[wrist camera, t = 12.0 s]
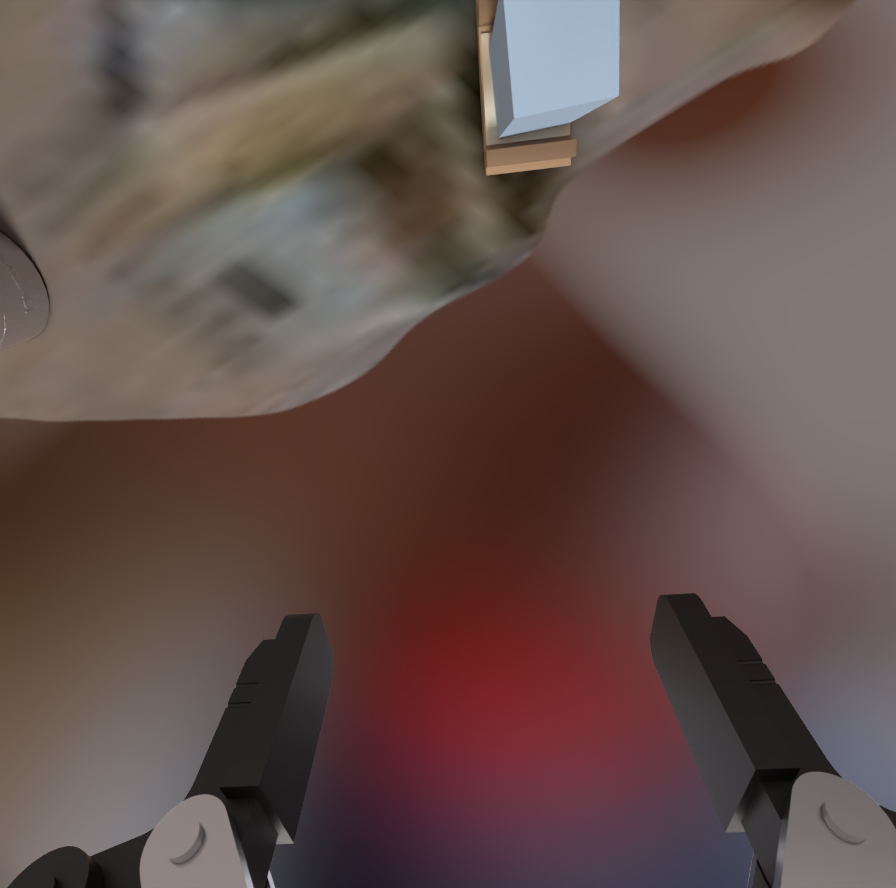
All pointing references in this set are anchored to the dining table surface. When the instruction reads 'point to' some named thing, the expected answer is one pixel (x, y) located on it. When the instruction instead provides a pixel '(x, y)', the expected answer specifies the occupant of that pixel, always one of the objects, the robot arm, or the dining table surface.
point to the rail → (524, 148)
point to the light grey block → (552, 61)
